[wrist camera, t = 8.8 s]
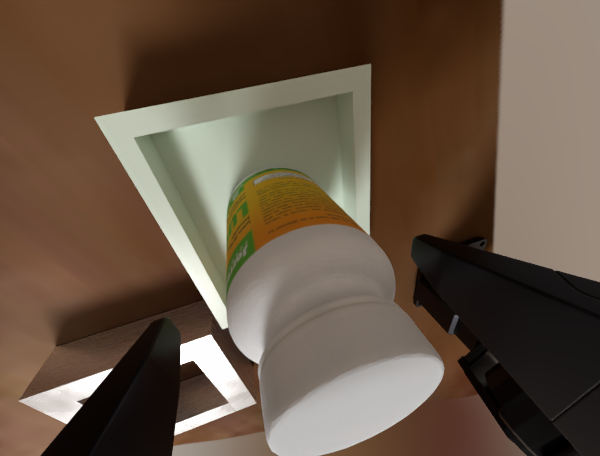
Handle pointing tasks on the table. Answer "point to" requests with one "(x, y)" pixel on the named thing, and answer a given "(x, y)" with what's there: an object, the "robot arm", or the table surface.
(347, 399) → the supplement bottle
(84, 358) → the sleeve holder
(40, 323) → the table surface
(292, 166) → the tray
